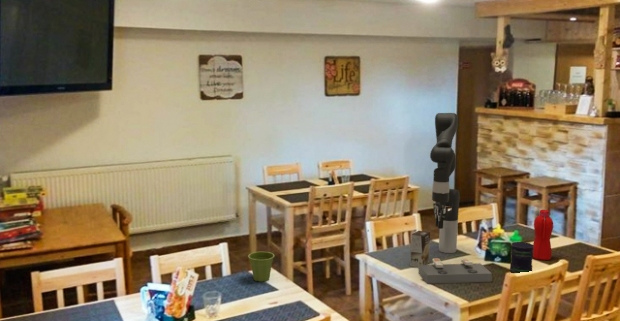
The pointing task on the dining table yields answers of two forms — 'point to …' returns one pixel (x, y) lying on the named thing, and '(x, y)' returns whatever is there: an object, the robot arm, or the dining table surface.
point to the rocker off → (437, 262)
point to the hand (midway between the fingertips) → (439, 227)
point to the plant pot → (261, 265)
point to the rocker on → (466, 262)
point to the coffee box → (420, 248)
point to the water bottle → (542, 236)
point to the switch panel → (454, 273)
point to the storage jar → (521, 257)
